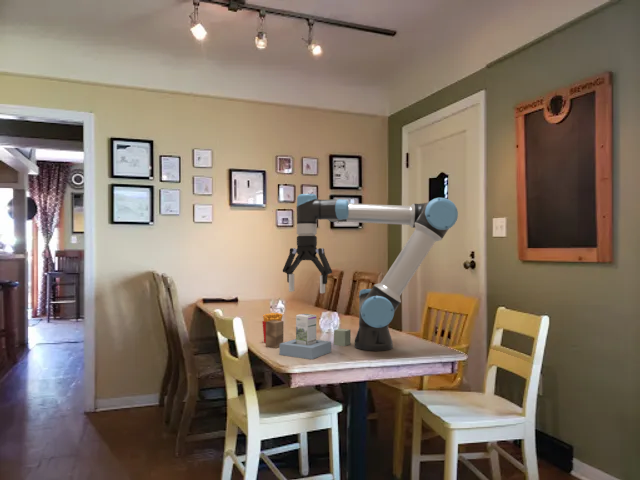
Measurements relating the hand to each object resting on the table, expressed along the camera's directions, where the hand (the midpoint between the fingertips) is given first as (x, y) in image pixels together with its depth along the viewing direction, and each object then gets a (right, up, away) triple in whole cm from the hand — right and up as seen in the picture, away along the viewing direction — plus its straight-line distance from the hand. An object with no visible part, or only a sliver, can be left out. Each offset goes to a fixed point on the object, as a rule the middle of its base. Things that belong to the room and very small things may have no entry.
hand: (306, 292), depth 180 cm
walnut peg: (-13, -23, +12) cm, 29 cm away
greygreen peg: (+14, -23, +17) cm, 32 cm away
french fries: (-15, -23, +21) cm, 34 cm away
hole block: (0, -23, 0) cm, 23 cm away
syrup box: (0, -23, 0) cm, 23 cm away
